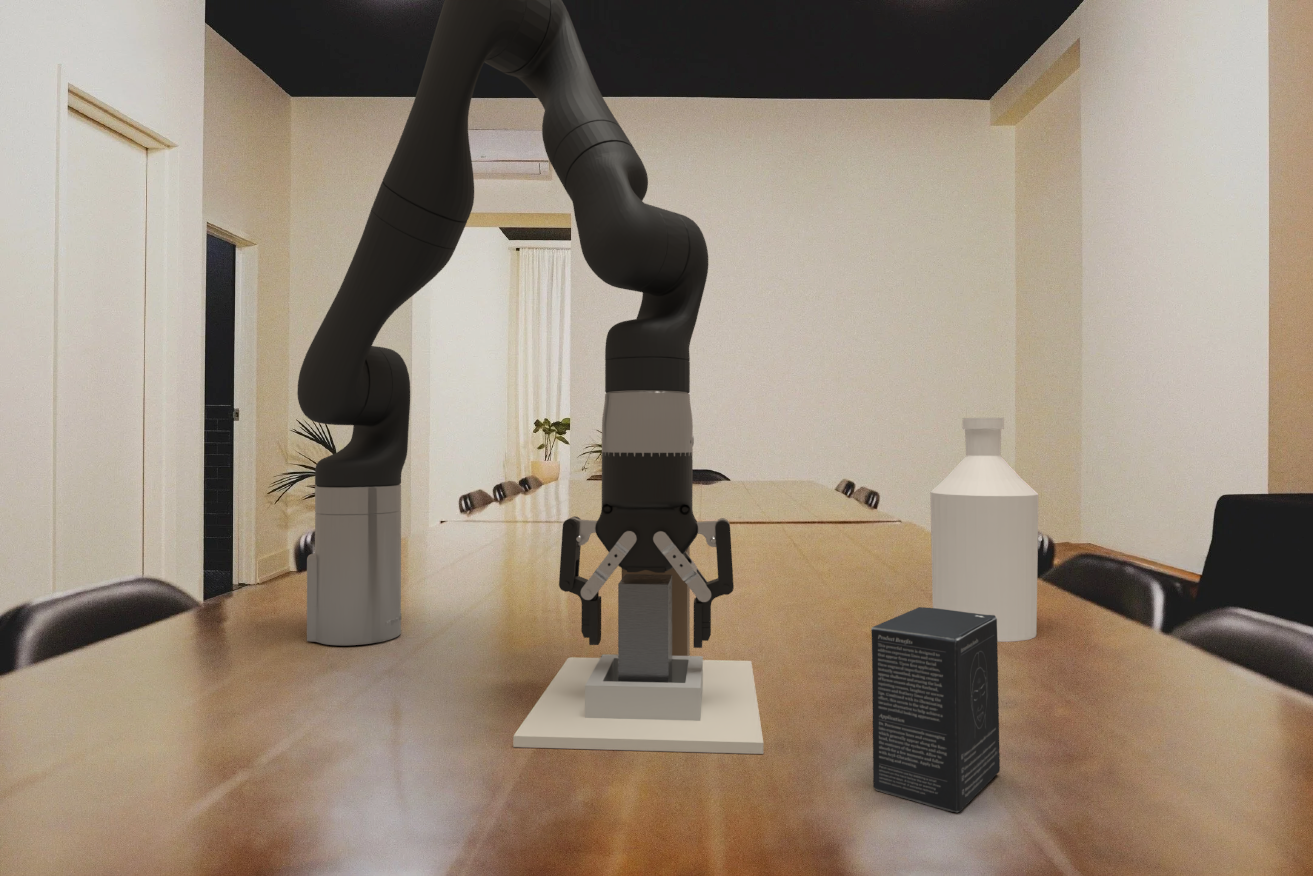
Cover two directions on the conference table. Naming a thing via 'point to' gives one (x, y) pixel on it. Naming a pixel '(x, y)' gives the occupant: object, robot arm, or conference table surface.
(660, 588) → the tall grey pillar block
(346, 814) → the conference table surface
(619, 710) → the post base
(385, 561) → the robot arm
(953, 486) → the bottle
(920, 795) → the box
